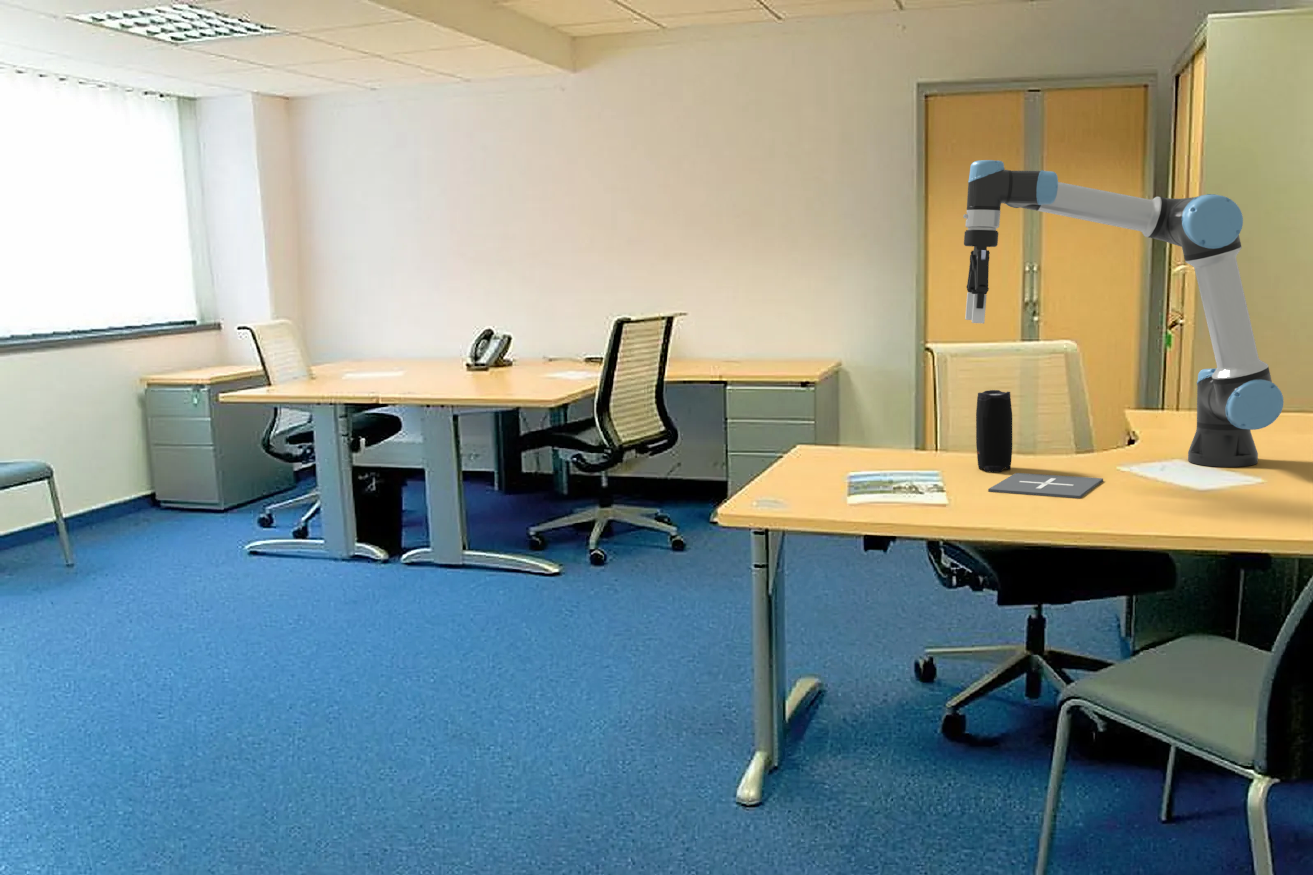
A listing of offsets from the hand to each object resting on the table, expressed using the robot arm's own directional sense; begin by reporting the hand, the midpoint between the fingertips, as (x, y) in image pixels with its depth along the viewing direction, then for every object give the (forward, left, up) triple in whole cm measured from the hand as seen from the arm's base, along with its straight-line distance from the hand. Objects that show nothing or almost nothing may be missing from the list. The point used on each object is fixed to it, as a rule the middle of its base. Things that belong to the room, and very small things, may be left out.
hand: (974, 321), depth 255 cm
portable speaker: (0, -13, -38) cm, 40 cm away
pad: (-17, +2, -38) cm, 41 cm away
